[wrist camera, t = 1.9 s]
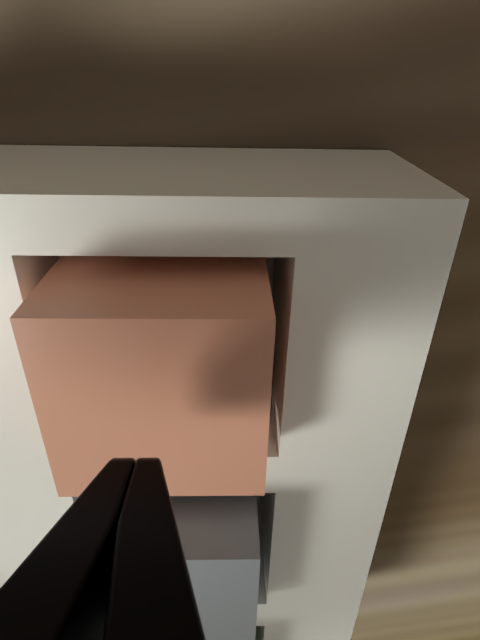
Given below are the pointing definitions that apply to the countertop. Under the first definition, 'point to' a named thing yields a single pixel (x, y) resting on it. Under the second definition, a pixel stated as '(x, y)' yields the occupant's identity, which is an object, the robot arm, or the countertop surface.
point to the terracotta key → (152, 368)
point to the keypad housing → (290, 333)
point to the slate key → (222, 561)
